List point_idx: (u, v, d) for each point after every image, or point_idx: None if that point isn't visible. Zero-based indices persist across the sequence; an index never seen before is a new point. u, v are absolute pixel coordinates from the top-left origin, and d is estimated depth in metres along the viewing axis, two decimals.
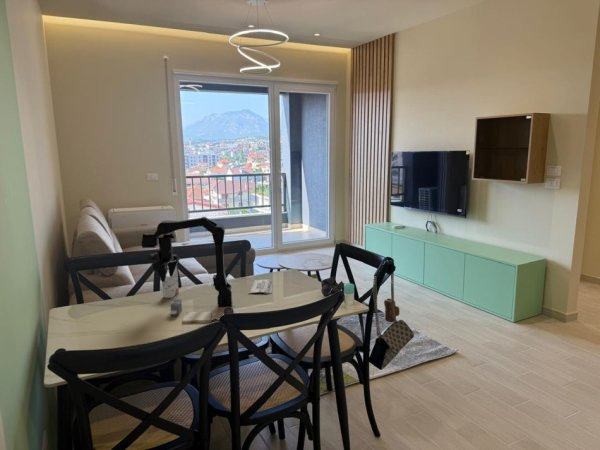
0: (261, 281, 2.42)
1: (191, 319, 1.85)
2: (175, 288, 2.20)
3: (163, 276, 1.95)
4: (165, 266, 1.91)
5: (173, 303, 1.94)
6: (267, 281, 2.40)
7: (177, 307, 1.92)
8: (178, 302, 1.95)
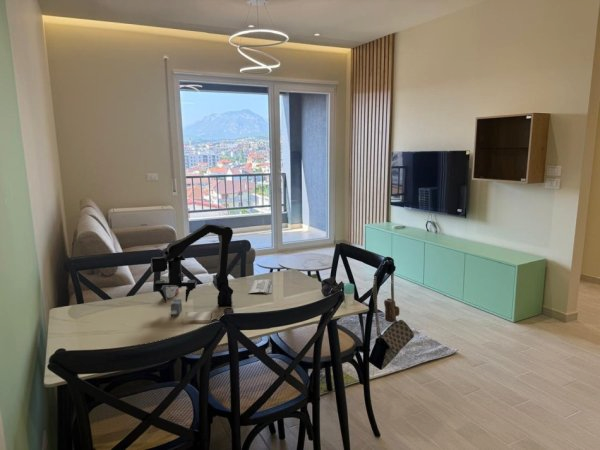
0: (261, 281, 2.42)
1: (191, 319, 1.85)
2: (175, 288, 2.20)
3: None
4: (156, 287, 1.90)
5: (173, 303, 1.94)
6: (267, 281, 2.40)
7: (177, 307, 1.92)
8: (178, 302, 1.95)
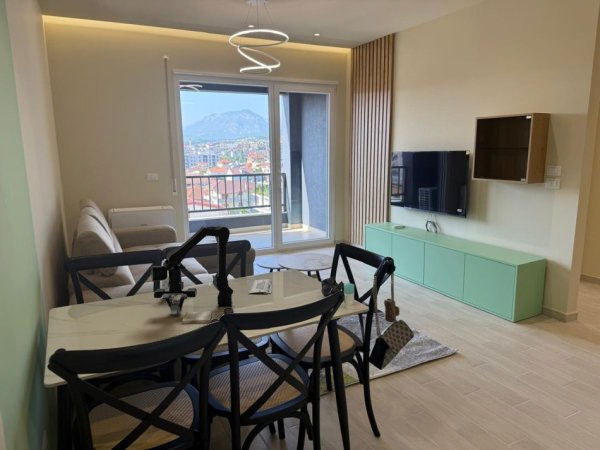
0: (261, 281, 2.42)
1: (191, 319, 1.85)
2: None
3: None
4: (156, 295, 1.91)
5: (173, 303, 1.94)
6: (267, 281, 2.40)
7: (177, 307, 1.92)
8: (178, 302, 1.95)
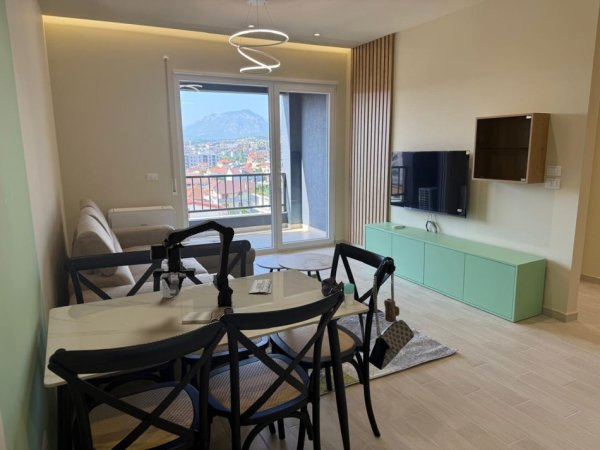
0: (261, 280, 2.42)
1: (191, 319, 1.85)
2: None
3: None
4: (155, 274, 1.89)
5: (172, 283, 1.92)
6: (267, 281, 2.40)
7: (176, 286, 1.90)
8: (177, 282, 1.94)
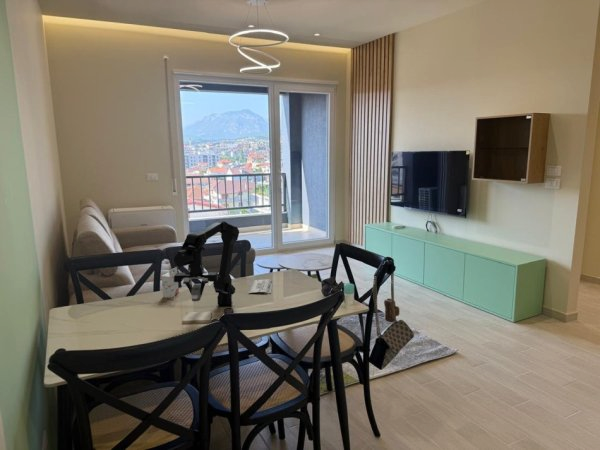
0: (261, 280, 2.42)
1: (191, 319, 1.85)
2: (175, 288, 2.20)
3: None
4: (176, 279, 1.82)
5: (193, 287, 1.85)
6: (267, 281, 2.40)
7: (198, 291, 1.83)
8: (199, 287, 1.87)
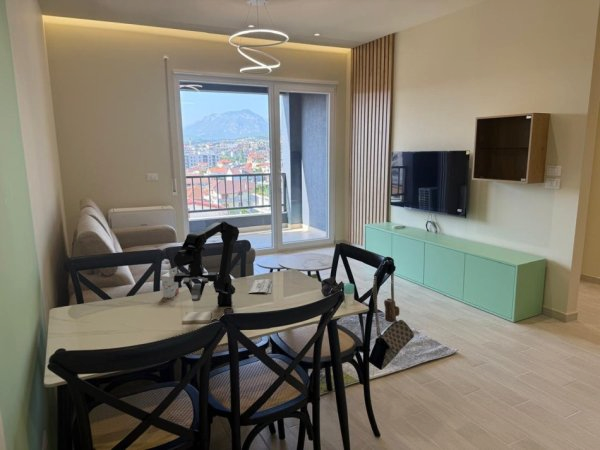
0: (261, 280, 2.42)
1: (191, 319, 1.85)
2: (175, 288, 2.20)
3: None
4: (176, 279, 1.82)
5: (193, 287, 1.85)
6: (267, 281, 2.41)
7: (198, 291, 1.83)
8: (199, 287, 1.87)
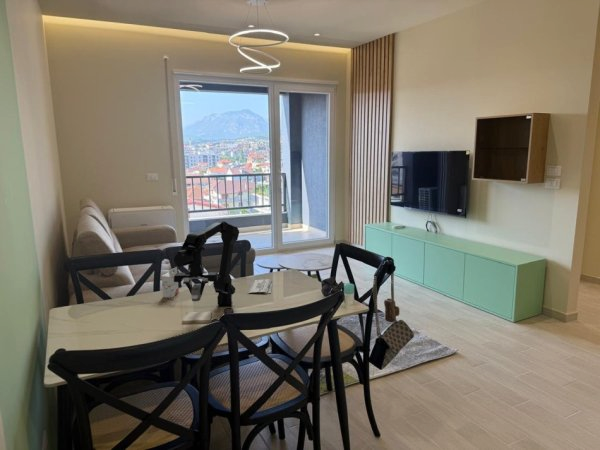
0: (261, 280, 2.42)
1: (191, 319, 1.85)
2: (175, 288, 2.20)
3: None
4: (176, 279, 1.82)
5: (193, 287, 1.85)
6: (267, 281, 2.41)
7: (198, 291, 1.83)
8: (199, 287, 1.87)
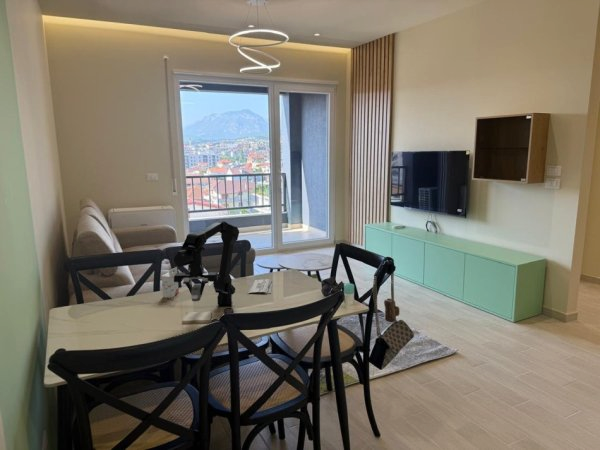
0: (261, 280, 2.42)
1: (191, 319, 1.85)
2: (175, 288, 2.20)
3: None
4: (176, 279, 1.82)
5: (193, 287, 1.85)
6: (267, 281, 2.41)
7: (198, 291, 1.83)
8: (199, 287, 1.87)
